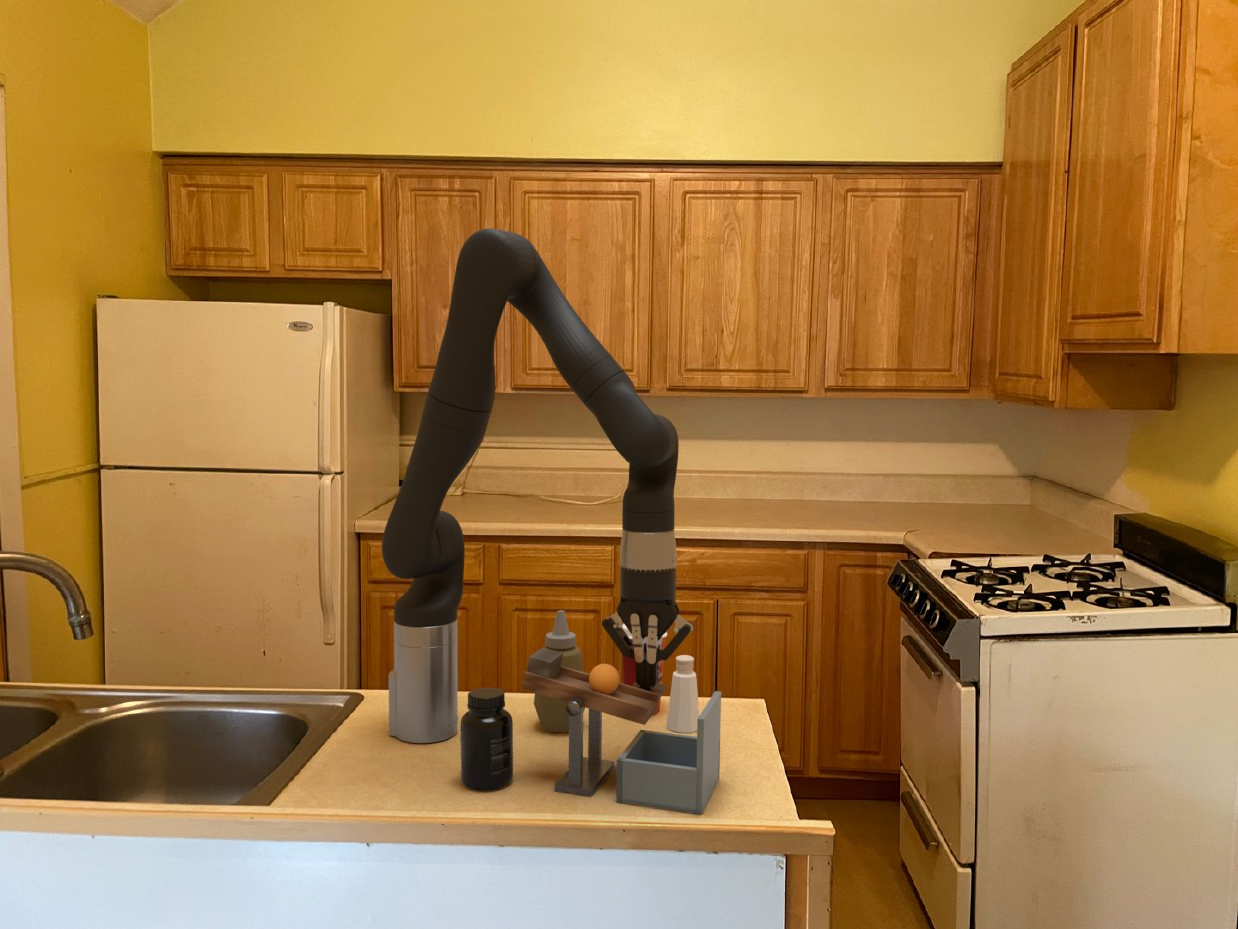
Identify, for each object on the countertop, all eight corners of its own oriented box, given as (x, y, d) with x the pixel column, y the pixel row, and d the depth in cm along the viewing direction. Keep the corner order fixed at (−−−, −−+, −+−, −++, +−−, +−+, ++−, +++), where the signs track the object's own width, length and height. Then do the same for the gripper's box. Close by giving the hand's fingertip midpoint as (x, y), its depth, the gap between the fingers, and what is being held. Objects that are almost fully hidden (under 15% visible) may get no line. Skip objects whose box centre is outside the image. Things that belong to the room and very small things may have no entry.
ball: (580, 674, 123) (607, 664, 122) (590, 665, 127) (616, 656, 125) (591, 702, 123) (618, 693, 121) (601, 693, 126) (627, 684, 125)
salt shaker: (660, 730, 144) (662, 659, 143) (672, 719, 149) (674, 650, 148) (694, 735, 142) (696, 664, 141) (705, 724, 147) (707, 654, 146)
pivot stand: (553, 792, 122) (554, 700, 121) (580, 761, 131) (581, 676, 130) (590, 797, 120) (591, 704, 119) (614, 766, 130) (616, 680, 129)
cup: (616, 802, 119) (617, 709, 118) (640, 768, 129) (641, 683, 128) (701, 815, 116) (703, 719, 115) (719, 779, 126) (721, 691, 125)
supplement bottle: (511, 769, 128) (511, 683, 127) (514, 791, 122) (515, 700, 121) (460, 772, 127) (460, 685, 126) (460, 794, 121) (460, 702, 120)
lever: (522, 688, 124) (527, 658, 124) (556, 662, 136) (561, 634, 136) (644, 725, 120) (650, 694, 119) (668, 694, 132) (674, 666, 131)
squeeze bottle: (522, 727, 145) (523, 611, 143) (559, 713, 151) (560, 602, 149) (560, 740, 139) (561, 620, 138) (597, 726, 145) (598, 611, 144)
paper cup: (661, 721, 148) (663, 633, 147) (613, 717, 149) (615, 630, 148) (669, 704, 156) (670, 621, 154) (623, 701, 157) (624, 618, 156)
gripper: (592, 564, 126) (592, 692, 127) (689, 570, 122) (688, 701, 123) (609, 555, 133) (609, 676, 134) (702, 560, 129) (700, 684, 130)
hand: (647, 688), depth 129 cm, fingers closed
